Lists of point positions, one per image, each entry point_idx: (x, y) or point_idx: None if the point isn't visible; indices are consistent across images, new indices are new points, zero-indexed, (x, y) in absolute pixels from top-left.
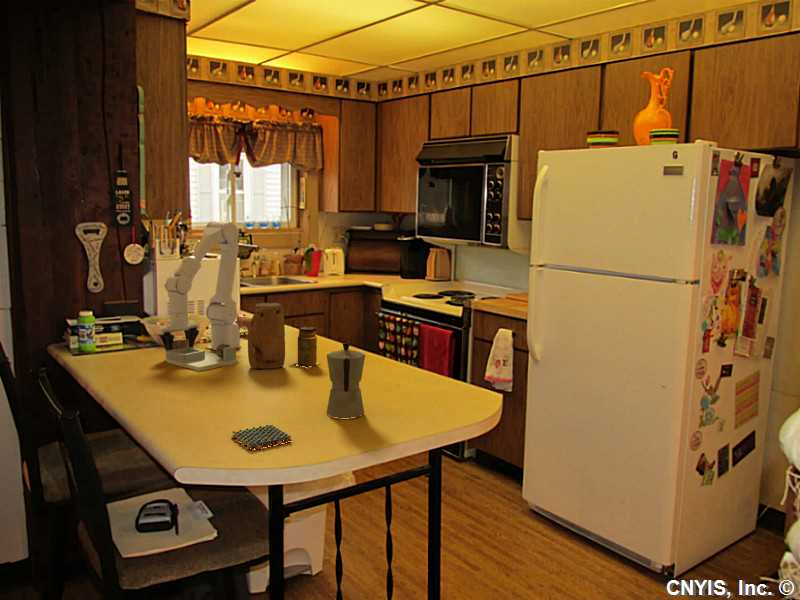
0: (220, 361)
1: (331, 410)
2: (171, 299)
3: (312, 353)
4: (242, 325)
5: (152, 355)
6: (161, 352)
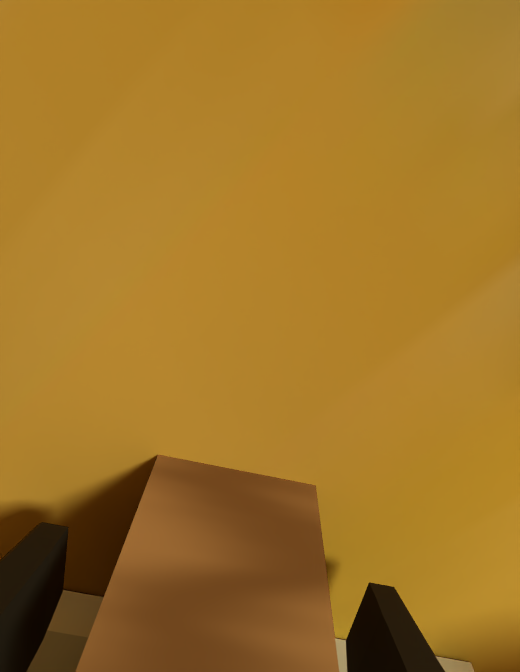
0: None
1: None
2: None
3: None
4: None
5: (86, 150)
6: (337, 107)
